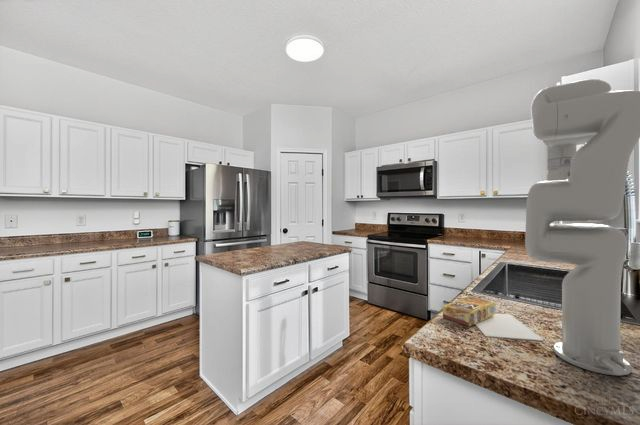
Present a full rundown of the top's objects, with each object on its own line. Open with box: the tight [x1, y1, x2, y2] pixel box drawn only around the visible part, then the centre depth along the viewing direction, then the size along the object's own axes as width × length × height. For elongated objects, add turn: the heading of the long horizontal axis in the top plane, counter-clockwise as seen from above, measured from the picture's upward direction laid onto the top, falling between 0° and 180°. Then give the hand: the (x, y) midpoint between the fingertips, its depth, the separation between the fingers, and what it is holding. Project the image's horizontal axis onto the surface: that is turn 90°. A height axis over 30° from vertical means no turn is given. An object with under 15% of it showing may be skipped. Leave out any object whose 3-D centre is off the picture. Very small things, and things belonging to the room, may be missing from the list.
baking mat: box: [474, 313, 544, 342], centre depth 81 cm, size 18×14×1 cm
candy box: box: [441, 295, 497, 327], centre depth 87 cm, size 9×4×15 cm
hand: (561, 217), depth 93 cm, fingers closed
